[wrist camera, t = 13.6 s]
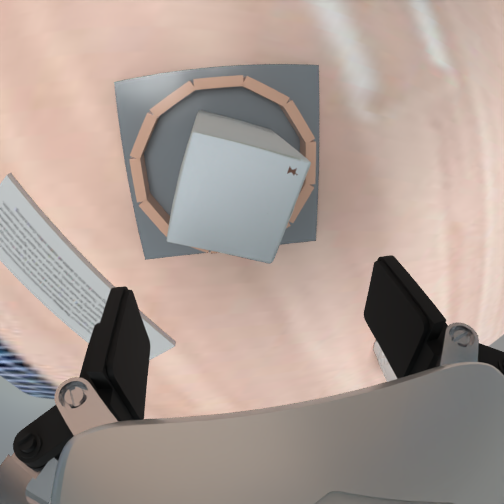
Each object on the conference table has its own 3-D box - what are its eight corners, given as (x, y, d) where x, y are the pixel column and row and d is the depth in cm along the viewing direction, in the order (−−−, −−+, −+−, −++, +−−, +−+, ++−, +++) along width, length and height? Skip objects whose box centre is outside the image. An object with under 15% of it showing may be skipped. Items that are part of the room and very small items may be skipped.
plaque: (175, 346, 41) (126, 372, 43) (175, 338, 42) (127, 364, 44) (6, 175, 26) (-28, 227, 28) (13, 171, 27) (-23, 222, 29)
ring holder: (315, 65, 27) (325, 64, 24) (313, 236, 37) (321, 249, 34) (117, 82, 25) (108, 82, 22) (146, 254, 35) (142, 269, 32)
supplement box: (197, 107, 27) (192, 125, 16) (273, 129, 29) (316, 162, 18) (177, 180, 30) (162, 243, 19) (249, 198, 32) (274, 267, 21)
